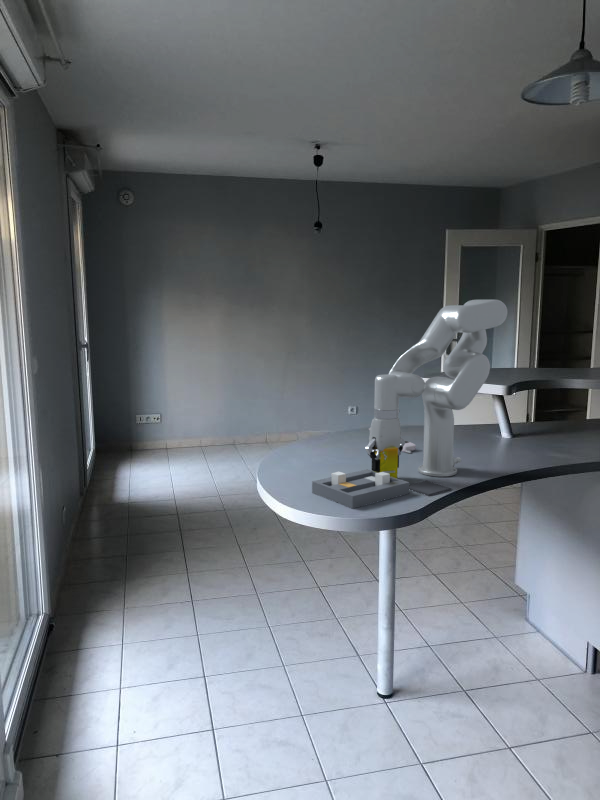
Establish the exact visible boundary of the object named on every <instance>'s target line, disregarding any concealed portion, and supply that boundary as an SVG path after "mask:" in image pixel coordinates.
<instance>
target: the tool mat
mask: <svg viewBox="0 0 600 800" xmlns="http://www.w3.org/2000/svg"><path fill="white" fill-rule="evenodd" d="M409 489H410V490H409V491H411V490H413V492H415V491H416V492H415V493H418V492H419V493H418V494H421V493H422V494H421V495H424V494H425V495H424V496H427V497H430V496H435V495H437V494H441V493H446V492H449V491H452V489H453V488H452V487H450V486H448V485H447V486H446V485H442V484H439V483H436V482H433V481H429V480H423V481H419V482H418V481H417V482H414V483H412V484H410V483H409Z"/></svg>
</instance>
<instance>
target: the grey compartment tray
mask: <svg viewBox="0 0 600 800" xmlns="http://www.w3.org/2000/svg"><path fill="white" fill-rule="evenodd" d="M375 473H377V472H374V471H372V469H363V470H359V471H354V472H350V473H345V474H346V482H344V483H339V484H336V485H331V483H332V476H330V477H326V478H321V479H317V480H313V481H311V493H312V494H314V495H317V496H319V497H322V498H324V499H327V500H329V499H330V500H329V501H332V500H333V501H332V502H334V501H335V503H337V502H338V504H339V503H340V505H342V506H344V505H345V507H347V508H349V509H353V510H354V509H355V508H356V507H357V508H359V506H361V507H364V506H367V505H366V504H368V505H371V504H370V503H372V504H374V503H373V502H376V503H378V502H377V501H380V502H382V501H381V500H384V499H387V500H390V499H389V498H391V499H394V498H393V497H395V498H397V497H396V496H399V497H401V496H400V495H403V496H405V495H404V494H407V495H409V494H410V490H409V485H410V482H409V481H406V480H404V479H399V478H398V477H397V478H394V477H390V483H386V484H382V485H378V486H375ZM408 493H409V494H408ZM384 501H385V500H384ZM363 505H364V506H363Z"/></svg>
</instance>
